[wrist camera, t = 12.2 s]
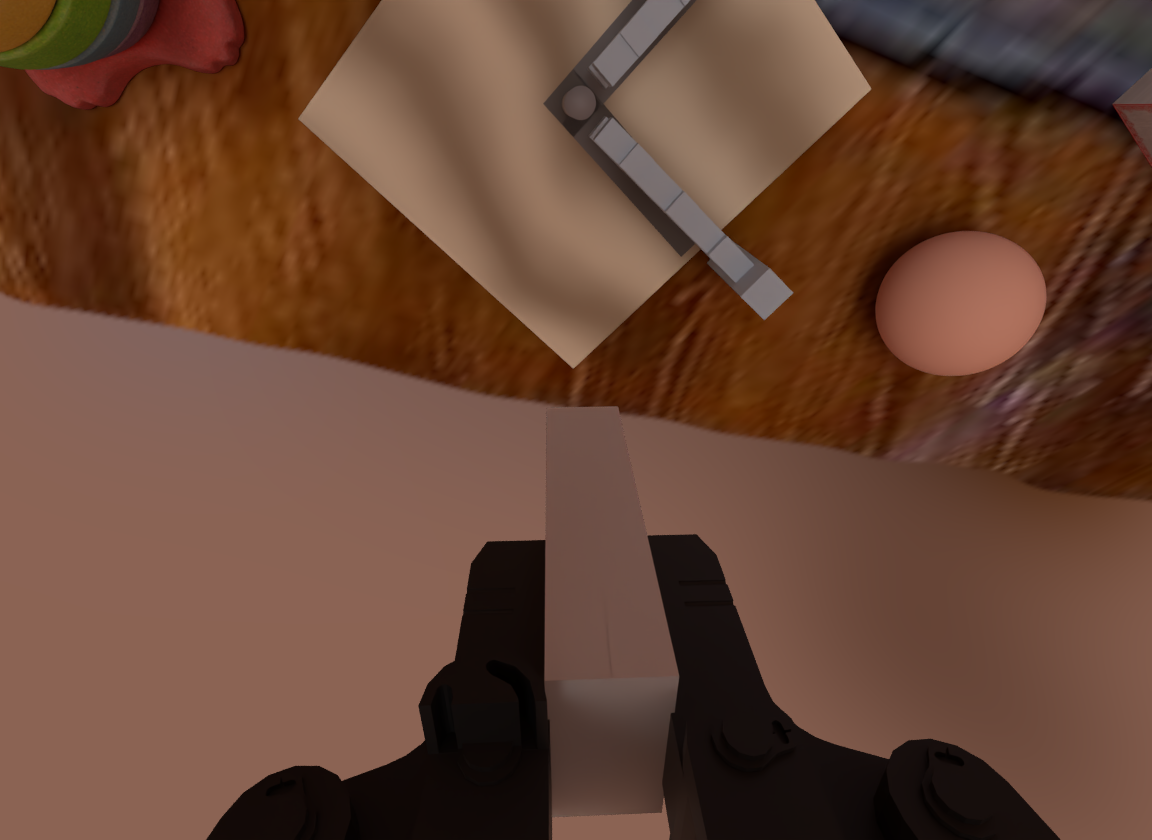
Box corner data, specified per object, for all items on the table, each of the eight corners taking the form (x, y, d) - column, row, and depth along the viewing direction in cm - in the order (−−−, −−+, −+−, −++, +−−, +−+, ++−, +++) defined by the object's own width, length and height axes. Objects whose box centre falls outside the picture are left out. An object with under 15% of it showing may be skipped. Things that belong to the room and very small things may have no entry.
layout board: (607, -313, 24) (608, -324, 23) (866, 89, 31) (872, 88, 30) (302, 118, 30) (297, 119, 30) (572, 364, 38) (573, 369, 37)
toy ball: (952, 347, 38) (1042, 400, 31) (837, 345, 38) (902, 399, 31) (998, 220, 34) (1112, 249, 28) (871, 217, 34) (954, 245, 27)
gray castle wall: (583, 139, 31) (591, 148, 25) (606, 110, 30) (621, 112, 24) (726, 283, 35) (764, 320, 29) (750, 260, 34) (793, 292, 28)
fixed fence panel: (739, -118, 26) (809, -200, 19) (762, -81, 27) (838, -148, 20) (552, 98, 30) (553, 96, 23) (577, 126, 31) (585, 132, 24)
